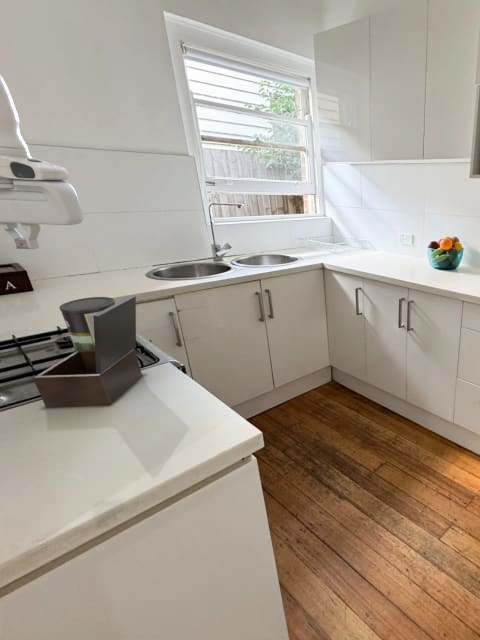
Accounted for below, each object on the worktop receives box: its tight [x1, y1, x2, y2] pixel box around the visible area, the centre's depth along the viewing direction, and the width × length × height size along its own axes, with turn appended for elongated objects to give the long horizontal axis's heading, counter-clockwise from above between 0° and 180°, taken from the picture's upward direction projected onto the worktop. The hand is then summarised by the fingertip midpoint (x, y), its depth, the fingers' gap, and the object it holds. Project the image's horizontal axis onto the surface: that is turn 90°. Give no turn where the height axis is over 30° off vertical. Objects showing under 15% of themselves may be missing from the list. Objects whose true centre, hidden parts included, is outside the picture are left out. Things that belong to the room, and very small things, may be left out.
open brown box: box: [32, 348, 143, 409], centre depth 80 cm, size 12×13×7 cm
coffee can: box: [58, 296, 116, 352], centre depth 94 cm, size 10×10×14 cm
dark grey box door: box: [93, 295, 137, 374], centre depth 77 cm, size 12×13×1 cm
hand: (27, 248), depth 70 cm, fingers closed
